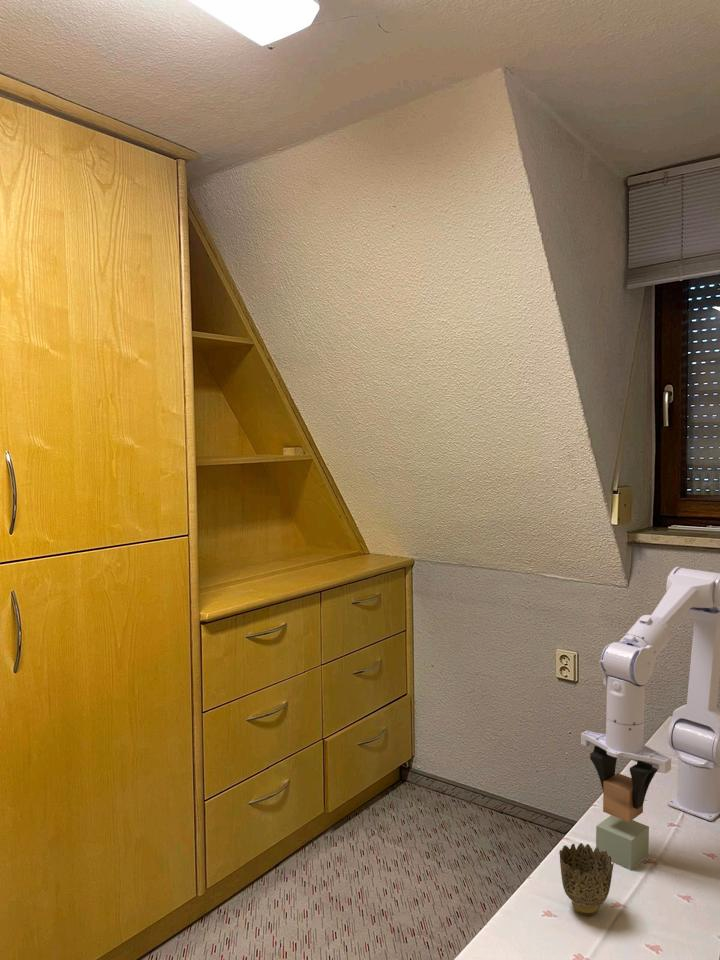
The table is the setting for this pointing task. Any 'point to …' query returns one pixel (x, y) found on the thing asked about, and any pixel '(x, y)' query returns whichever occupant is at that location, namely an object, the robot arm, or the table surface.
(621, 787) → the walnut block
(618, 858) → the grey block
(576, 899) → the cup
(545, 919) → the table surface
